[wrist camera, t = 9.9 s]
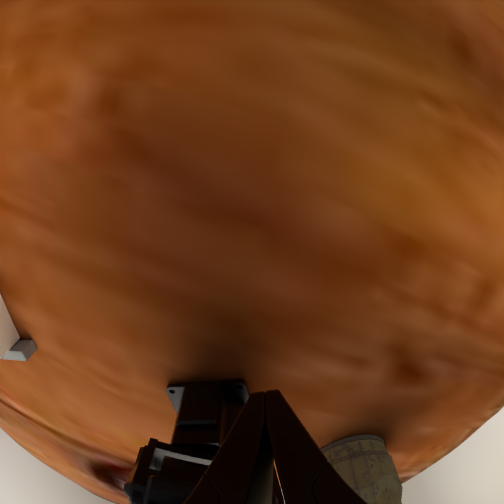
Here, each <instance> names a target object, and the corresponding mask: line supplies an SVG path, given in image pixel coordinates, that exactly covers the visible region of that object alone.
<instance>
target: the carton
mask: <svg viewBox="0 0 504 504" xmlns="http://www.w3.org/2000/svg"><path fill="white" fill-rule="evenodd" d="M19 339H20V336H19V334H18V332H17V330H16V328H15V326H14V324H13V322H12V320H11V317H10V315H9V313H8V311H7V308H6V306H5V304H4V301H3V299H2V296H1V294H0V359H1V358H2V357H3V356H4V355H5V354H6V352H7V351H8V350H9V349H10V348H11V347H12V346H13V345H14V344H15V343H16V342H17V341H18V340H19Z"/></svg>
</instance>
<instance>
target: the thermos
mask: <svg viewBox="0 0 504 504" xmlns="http://www.w3.org/2000/svg"><path fill="white" fill-rule="evenodd" d="M320 450H321V451H322V452H323V454H324V455H325V457H326V458H327V459H328V462H330V463H331V465H332V466H333V467H334V469H335V470H336V471H337V472H338V474H339V475H340V476H341V477H342V478H343V480H344V481H345V482H346V483H347V484H348V485H349V486H350V487H351V488H352V489H353V490H354V491H355V492H356V493H357V494H358V495H359V496H360V497H361V498H362V499H363V500H364V501H366V502H367V503H368V504H402V503H401V498H402V497H401V496H402V485H401V482H400V479H399V477H398V474H397V471H396V468H395V466H394V463H393V460H392V458H391V456H390V455H389V454H388V453H387V450H386V446H385V443H384V440H383V439H382V438H380V437H379V436H376V435H370V434H366V435H356V436H351V437H347V438H343V439H341V440H338V441H335V442H332V443H330V444H329V445H327V446H325V447H323V448H321V449H320Z"/></svg>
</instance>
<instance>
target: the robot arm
mask: <svg viewBox="0 0 504 504" xmlns="http://www.w3.org/2000/svg"><path fill="white" fill-rule="evenodd" d="M238 385H242V386H238ZM173 390H174V391H173ZM166 392H167V394H168V396H169V398H170V401H171V403H172V405H173V407H174V409H175V411H176V413H177V418H176V422H175V426H174V430H173V435H172V439H171V443H170V444H167V443H163V442H160V441H158V440H157V439H153V438H150V441H149V443H148V446H146V445H145V447H141V448H140V450H139V453H138V457H137V460H136V463H135V465H134V467H133V469H132V471H131V473H130V475H129V477H128V479H127V481H126V483H125V485H124V492H125V494H126V495H127V497H128V498H129V504H284V500H285V504H368V503H367V502H366V501H364V500H363V499H362V498H361V497H360V496H359V495H358V494H357V493H356V492H355V491H354V490H353V489H352V488H351V487H350V486H349V485H348V484H347V483H346V482H345V481H344V480H343V478H342V477H341V476H340V475H339V474H338V472H337V471H336V470H335V469H334V467H333V466H332V465H331V463H330V462H328V459H327V458H326V457H325V455H324V454H323V452H322V451H321V450H320V448H319V447H318V445H317V444H316V443H315V441H314V440H313V438H312V437H311V436H310V434H309V433H308V431H307V430H306V429H305V427H304V426H303V424H302V423H301V421H300V420H299V419H298V417H297V416H296V414H295V413H294V411H293V410H292V408H291V407H290V405H289V404H288V402H287V401H286V400H285V398H284V397H283V395H282V394H281V392H280V391H279V390H278V389H275V390H268V391H266V392H263V391H261V392H254V393H251V395H250V396H249V392H248V388H247V385H246V382H245V381H244V380H241V379H237V380H227V381H215V382H202V383H185V384H169V385H168V386H167V389H166ZM274 460H275V464H276V468H277V472H278V476H279V480H280V484H281V488H282V492H283V495H282V492H281V488H280V485H279V481H278V478H277V474H276V471H275V467H274ZM283 496H284V499H283Z"/></svg>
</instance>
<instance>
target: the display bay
mask: <svg viewBox="0 0 504 504" xmlns="http://www.w3.org/2000/svg"><path fill="white" fill-rule="evenodd" d="M36 350H37V348H36V346H35V344H34V342H33V340H18V341H17V342H16V343H15V344H14V345H13V346H12V347H11V348H10V349H9V350H8V351H7V352H6V354H5V355H4V356H3V357H2V358H1V359H9V360H20V361H27V360H28V359H29V358H30V357H31V356H32V354H33V353H34V352H35V351H36Z"/></svg>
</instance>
